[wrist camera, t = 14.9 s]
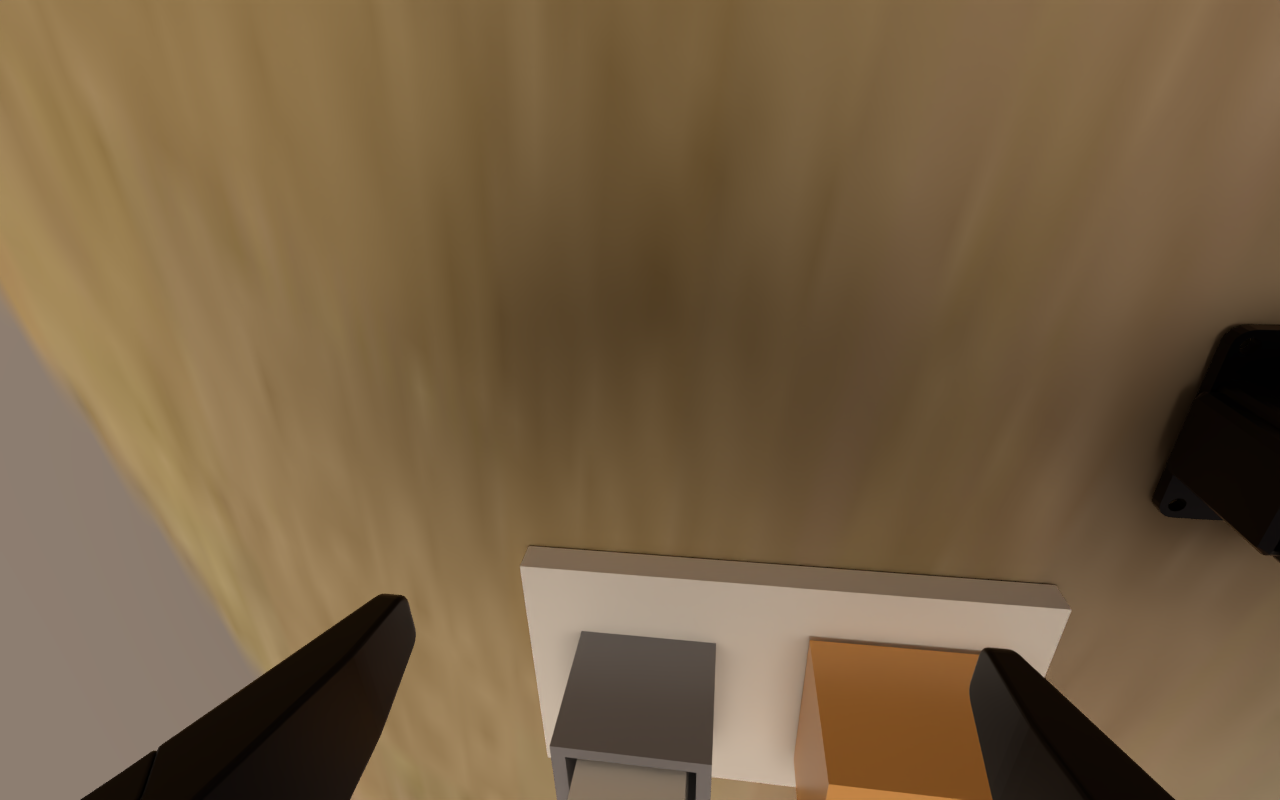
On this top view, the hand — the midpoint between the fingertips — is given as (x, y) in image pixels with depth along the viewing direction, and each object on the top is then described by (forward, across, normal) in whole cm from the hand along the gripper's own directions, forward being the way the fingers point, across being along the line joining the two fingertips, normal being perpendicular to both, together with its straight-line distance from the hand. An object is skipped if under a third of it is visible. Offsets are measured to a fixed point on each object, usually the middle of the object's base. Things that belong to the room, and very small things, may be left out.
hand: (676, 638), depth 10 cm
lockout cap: (+11, -8, +15) cm, 20 cm away
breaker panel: (+12, -3, +15) cm, 19 cm away
